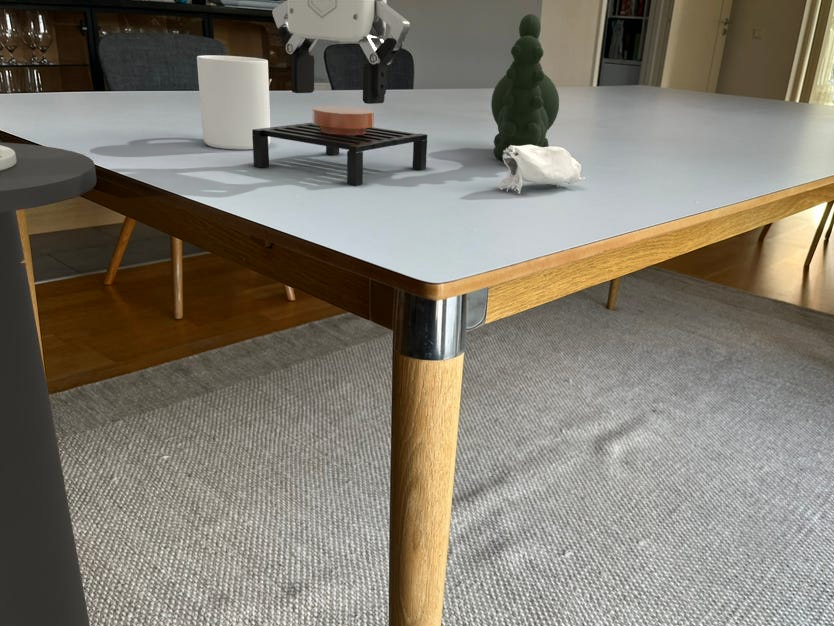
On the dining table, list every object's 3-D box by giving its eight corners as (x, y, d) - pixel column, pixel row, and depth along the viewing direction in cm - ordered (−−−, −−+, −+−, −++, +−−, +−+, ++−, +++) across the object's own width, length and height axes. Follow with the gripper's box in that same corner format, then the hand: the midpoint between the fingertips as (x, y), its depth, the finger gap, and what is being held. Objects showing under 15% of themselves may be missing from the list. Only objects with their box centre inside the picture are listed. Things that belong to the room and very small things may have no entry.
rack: (356, 185, 80) (356, 146, 78) (253, 166, 85) (251, 129, 84) (426, 168, 91) (427, 134, 90) (331, 152, 97) (331, 120, 95)
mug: (181, 136, 100) (174, 52, 96) (241, 134, 105) (237, 54, 101) (219, 151, 92) (213, 60, 88) (282, 148, 97) (279, 61, 93)
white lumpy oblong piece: (538, 210, 81) (592, 178, 87) (524, 146, 78) (581, 118, 84) (503, 209, 84) (558, 179, 90) (489, 148, 81) (546, 120, 87)
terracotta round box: (349, 138, 83) (349, 115, 82) (300, 130, 85) (299, 108, 84) (385, 133, 88) (385, 111, 87) (337, 125, 91) (337, 104, 90)
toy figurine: (553, 187, 95) (553, 141, 116) (572, 21, 85) (568, 4, 107) (478, 181, 95) (492, 136, 117) (488, 15, 86) (501, -1, 108)
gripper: (249, -87, 78) (253, 89, 85) (390, -82, 72) (383, 108, 78) (297, -75, 85) (298, 88, 91) (431, -70, 78) (421, 106, 85)
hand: (337, 97), depth 85 cm, fingers open, 9 cm apart
